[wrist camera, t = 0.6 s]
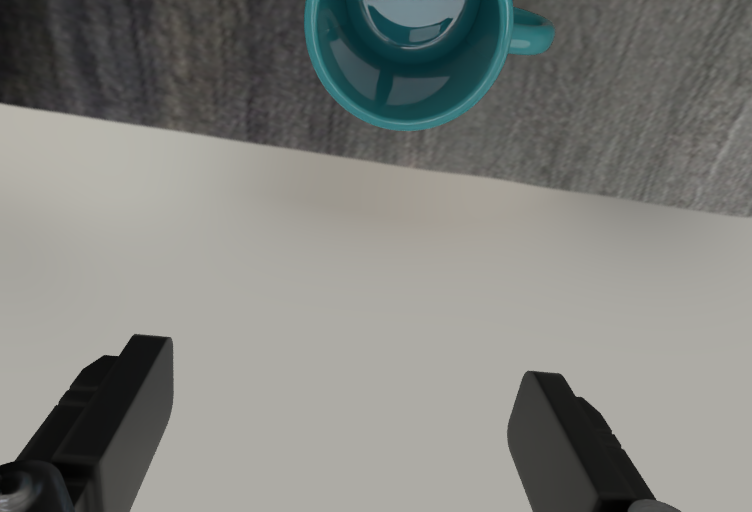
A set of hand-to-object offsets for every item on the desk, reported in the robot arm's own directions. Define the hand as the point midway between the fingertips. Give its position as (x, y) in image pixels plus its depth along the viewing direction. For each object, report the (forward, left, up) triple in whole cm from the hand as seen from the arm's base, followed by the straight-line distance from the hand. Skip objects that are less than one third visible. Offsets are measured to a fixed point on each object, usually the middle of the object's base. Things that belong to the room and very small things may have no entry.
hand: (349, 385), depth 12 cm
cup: (-3, +3, -28) cm, 28 cm away
